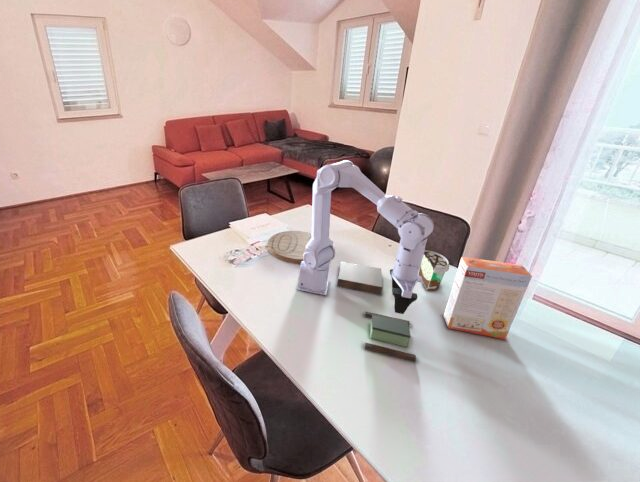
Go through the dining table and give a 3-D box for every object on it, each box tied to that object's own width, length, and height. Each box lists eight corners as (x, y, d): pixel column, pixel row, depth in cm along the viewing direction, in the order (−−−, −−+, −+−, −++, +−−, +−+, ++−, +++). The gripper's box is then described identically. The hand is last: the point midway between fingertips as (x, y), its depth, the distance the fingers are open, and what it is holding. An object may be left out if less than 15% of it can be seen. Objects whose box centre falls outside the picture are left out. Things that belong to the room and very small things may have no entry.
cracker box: (497, 325, 90) (523, 264, 82) (505, 340, 85) (534, 276, 77) (441, 315, 94) (461, 255, 86) (446, 328, 89) (468, 266, 81)
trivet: (327, 237, 141) (327, 233, 140) (328, 267, 119) (329, 262, 118) (272, 232, 146) (272, 228, 146) (263, 259, 124) (263, 255, 123)
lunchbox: (370, 338, 86) (372, 327, 84) (369, 325, 90) (372, 314, 89) (406, 347, 83) (410, 335, 81) (404, 333, 88) (407, 322, 86)
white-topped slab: (337, 286, 108) (338, 278, 107) (339, 268, 118) (340, 261, 117) (380, 294, 103) (382, 287, 102) (379, 275, 114) (381, 268, 113)
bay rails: (364, 348, 83) (365, 345, 82) (364, 314, 95) (365, 311, 94) (415, 361, 79) (416, 358, 78) (408, 324, 91) (409, 320, 90)
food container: (448, 295, 103) (457, 269, 99) (428, 293, 104) (435, 267, 100) (435, 274, 114) (442, 250, 110) (417, 272, 115) (423, 248, 111)
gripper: (431, 279, 72) (418, 325, 77) (421, 249, 84) (410, 291, 90) (397, 273, 74) (387, 318, 80) (392, 245, 87) (384, 286, 92)
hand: (397, 303), depth 85 cm, fingers open, 7 cm apart
